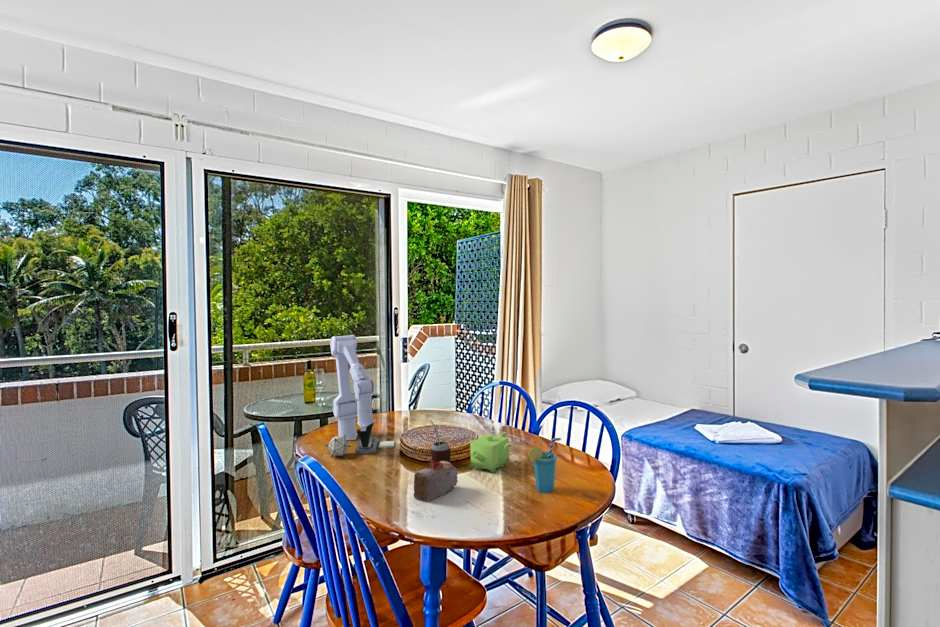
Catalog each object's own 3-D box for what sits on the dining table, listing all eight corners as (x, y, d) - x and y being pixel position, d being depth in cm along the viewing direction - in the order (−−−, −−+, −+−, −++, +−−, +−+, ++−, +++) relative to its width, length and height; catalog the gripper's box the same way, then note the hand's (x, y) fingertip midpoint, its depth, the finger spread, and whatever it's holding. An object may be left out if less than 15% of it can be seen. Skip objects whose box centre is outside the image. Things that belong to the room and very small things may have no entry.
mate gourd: (448, 470, 171) (446, 427, 170) (426, 469, 172) (424, 426, 171) (453, 462, 178) (451, 421, 177) (432, 461, 180) (430, 420, 179)
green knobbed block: (505, 458, 181) (505, 427, 180) (517, 472, 167) (516, 439, 166) (465, 462, 178) (464, 431, 177) (473, 477, 164) (472, 444, 163)
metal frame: (360, 442, 204) (359, 438, 204) (378, 441, 205) (378, 437, 205) (355, 454, 189) (355, 450, 189) (375, 453, 190) (375, 449, 190)
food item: (440, 483, 160) (439, 453, 159) (460, 488, 155) (458, 457, 155) (411, 498, 149) (410, 466, 148) (431, 504, 144) (429, 471, 144)
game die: (339, 467, 187) (331, 452, 180) (325, 455, 191) (318, 440, 185) (357, 451, 192) (350, 435, 185) (344, 440, 196) (337, 424, 190)
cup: (551, 478, 160) (550, 433, 159) (571, 485, 154) (570, 438, 153) (522, 492, 151) (521, 443, 150) (542, 499, 145) (541, 449, 144)
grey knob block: (362, 449, 196) (361, 432, 195) (372, 448, 196) (371, 432, 196) (360, 452, 192) (360, 436, 191) (371, 452, 192) (370, 435, 192)
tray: (379, 443, 203) (379, 441, 203) (394, 442, 203) (394, 440, 203) (378, 447, 197) (378, 446, 197) (393, 446, 197) (393, 445, 197)
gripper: (373, 414, 186) (374, 449, 187) (376, 404, 200) (378, 437, 201) (354, 415, 185) (356, 450, 186) (359, 405, 200) (360, 438, 201)
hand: (366, 443), depth 194 cm, fingers open, 7 cm apart
